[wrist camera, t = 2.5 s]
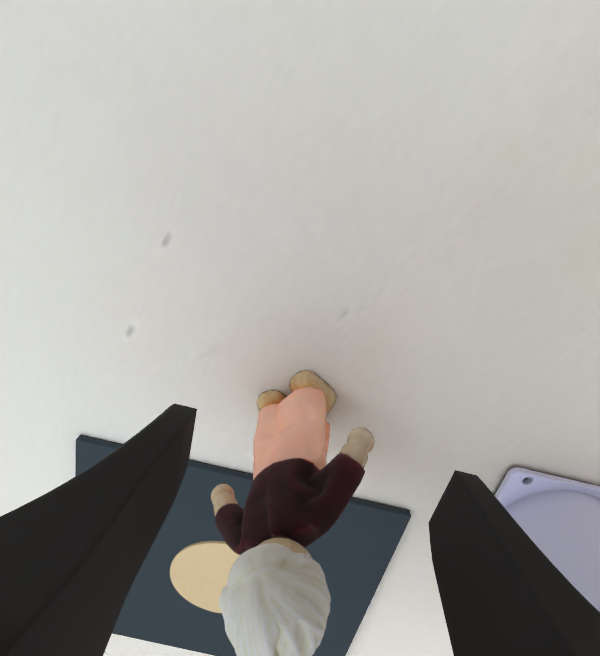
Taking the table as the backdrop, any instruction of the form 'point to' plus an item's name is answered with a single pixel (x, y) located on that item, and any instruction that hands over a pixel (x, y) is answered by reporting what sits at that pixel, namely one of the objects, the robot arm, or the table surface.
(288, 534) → the grandmother figurine
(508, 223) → the table surface
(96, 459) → the display mat
